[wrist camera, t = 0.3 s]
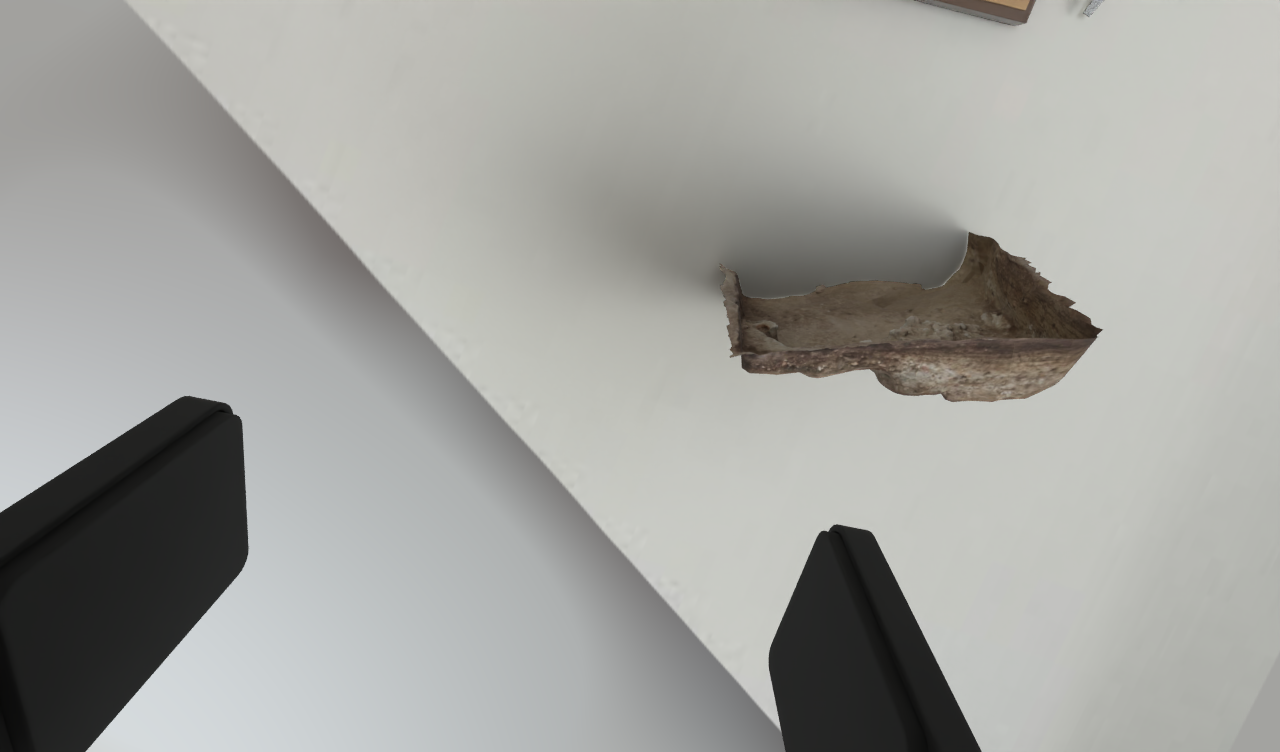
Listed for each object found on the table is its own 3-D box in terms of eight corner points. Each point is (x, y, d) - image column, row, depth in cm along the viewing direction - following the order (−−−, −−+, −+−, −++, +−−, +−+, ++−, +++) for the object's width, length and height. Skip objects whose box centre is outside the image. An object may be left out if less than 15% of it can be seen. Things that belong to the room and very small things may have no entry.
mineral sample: (979, 229, 38) (1163, 308, 24) (971, 292, 40) (1139, 400, 26) (704, 255, 39) (731, 346, 25) (708, 316, 41) (735, 432, 27)
